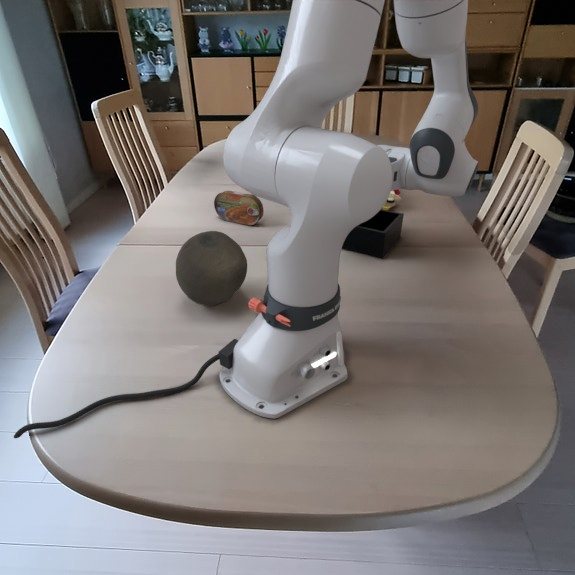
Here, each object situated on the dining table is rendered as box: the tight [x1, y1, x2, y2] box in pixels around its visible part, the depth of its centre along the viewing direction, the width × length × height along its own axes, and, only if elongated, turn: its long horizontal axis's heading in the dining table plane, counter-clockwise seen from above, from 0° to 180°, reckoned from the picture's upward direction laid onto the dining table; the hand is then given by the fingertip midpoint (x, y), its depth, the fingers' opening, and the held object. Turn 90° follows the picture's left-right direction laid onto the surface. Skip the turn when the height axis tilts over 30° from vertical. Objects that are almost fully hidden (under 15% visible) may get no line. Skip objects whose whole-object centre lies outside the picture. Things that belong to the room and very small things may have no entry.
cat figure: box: [381, 190, 402, 211], centre depth 137 cm, size 10×9×25 cm
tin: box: [213, 190, 264, 226], centre depth 124 cm, size 15×3×8 cm, turn 62°
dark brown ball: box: [175, 230, 248, 306], centre depth 90 cm, size 14×14×15 cm
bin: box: [341, 208, 404, 260], centre depth 113 cm, size 16×13×7 cm
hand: (343, 159), depth 106 cm, fingers open, 8 cm apart
